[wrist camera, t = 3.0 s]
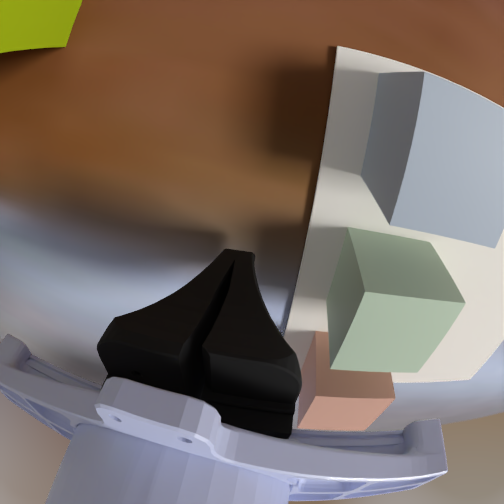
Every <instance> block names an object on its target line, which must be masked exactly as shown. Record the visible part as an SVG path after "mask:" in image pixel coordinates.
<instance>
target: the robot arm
mask: <svg viewBox="0 0 504 504" xmlns="http://www.w3.org/2000/svg"><path fill="white" fill-rule="evenodd" d="M254 261H255V255H254V253H252V252H245V251H238V250H231V249H225V250H224V251H223V252H222V253H221V254H220V255H219V256H218V257H217V258H216V259H215V260H214V261H213V262H212V263H211V264H210V265H209V266H208V267H206V268H205V269H204V270H203V271H202V272H201V273H200V274H199V275H197V276H196V277H195V278H194V279H192V280H191V281H190V282H189V283H187V284H186V285H185V286H183V287H182V288H180V289H179V290H177V291H176V292H174V293H173V294H171V295H169V296H167V297H166V298H164V299H162V300H160V301H158V302H156V303H154V304H152V305H149V306H147V307H145V308H142V309H140V310H137V311H134V312H131V313H128V314H125V315H122V316H118V317H115V318H114V319H113V321H112V322H111V323H110V324H109V326H108V327H107V329H106V331H105V332H104V334H103V336H102V337H101V339H100V341H99V342H98V344H97V351H98V354H99V356H100V358H101V360H102V362H103V364H104V366H105V368H106V370H107V372H108V375H107V377H106V379H105V381H104V383H103V385H102V386H101V385H99V384H96V383H94V382H91V381H89V380H86V379H84V378H81V377H79V376H77V375H74V374H72V373H70V372H68V371H65V370H63V369H61V368H59V367H57V366H54V365H52V364H50V363H48V362H46V361H44V360H42V359H40V358H38V357H36V356H34V355H32V354H31V352H30V350H29V349H28V347H27V346H26V345H25V344H24V343H23V342H22V341H21V340H19V339H17V338H15V337H13V336H12V335H10V334H7V335H6V337H5V338H4V339H3V341H2V342H1V343H0V391H1V392H2V393H3V394H4V395H5V397H6V398H8V400H10V401H11V402H13V403H14V404H15V405H17V406H18V407H20V408H21V409H22V410H24V411H25V412H27V413H28V414H30V415H31V416H33V417H34V418H36V419H37V420H39V421H40V422H42V423H43V424H45V425H46V426H48V427H50V428H51V429H53V430H54V431H56V432H57V433H59V434H61V435H63V436H64V437H66V438H68V439H69V440H71V442H70V444H69V446H68V448H67V451H66V453H65V456H64V458H63V460H62V462H61V465H60V467H59V470H58V472H57V475H56V477H55V480H54V482H53V485H52V487H51V490H50V492H49V495H48V498H47V501H46V503H45V504H288V501H319V500H336V499H348V498H357V497H365V496H373V495H380V494H386V493H392V492H398V491H404V490H410V489H414V488H416V487H419V486H421V485H423V484H425V483H427V482H429V481H431V480H433V479H435V478H437V477H439V476H441V475H443V474H445V473H447V471H448V468H447V460H446V453H445V447H444V440H443V434H442V430H441V424H440V419H438V418H437V419H428V420H419V421H414V422H412V423H410V424H408V425H407V426H406V427H405V428H404V430H396V431H377V432H329V431H309V430H296V429H292V422H293V415H294V412H295V402H296V400H297V398H298V396H299V393H300V391H301V388H302V376H301V370H300V365H299V361H298V358H297V355H296V353H295V352H294V350H293V349H292V348H291V347H290V346H289V344H288V343H287V342H286V341H285V339H284V338H283V336H282V335H281V333H280V332H279V330H278V329H277V327H276V325H275V324H274V322H273V320H272V319H271V317H270V315H269V313H268V311H267V308H266V306H265V304H264V301H263V299H262V296H261V293H260V290H259V287H258V283H257V278H256V274H255V267H254Z"/></svg>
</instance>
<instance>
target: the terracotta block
mask: <svg viewBox="0 0 504 504" xmlns="http://www.w3.org/2000/svg"><path fill="white" fill-rule="evenodd" d="M301 376H302V388H301V391H300V393H299V409H298V424H297V428H302V429H317V430H346V431H364V430H365V429H366V428H367V427H368V426H369V425H371V424H372V423H373V422H374V421H375V420H376V419H377V417H378V416H379V415H380V414H381V413H382V412H383V411H384V410H385V409H386V408H387V407H388V406H389V405H390V404H391V403H392V402H393V401H394V399H395V393H394V387H393V381H392V375H391V372H367V371H350V370H336V369H330V356H329V336H328V332H322V331H315V334H314V337H313V340H312V342H311V345H310V348H309V351H308V353H307V356H306V359H305V361H304V364H303V367H302V369H301Z"/></svg>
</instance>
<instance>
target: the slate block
mask: <svg viewBox="0 0 504 504" xmlns="http://www.w3.org/2000/svg"><path fill="white" fill-rule="evenodd" d="M360 176H361V177H362V179H363V181H364V182H365V184H366V185H367V187H368V189H369V190H370V192H371V194H372V195H373V197H374V199H375V200H376V202H377V204H378V206H379V207H380V209H381V211H382V213H383V214H384V216H385V218H386V220H387V222H388V223H389V225H391V226H396V227H401V228H406V229H411V230H416V231H421V232H425V233H430V234H435V235H439V236H444V237H448V238H453V239H457V240H461V241H466V242H470V243H474V244H478V245H482V246H486V247H490V248H494V249H495V247H496V245H497V243H498V241H499V239H500V236H501V234H502V232H503V229H504V109H503V108H502V107H500V106H498V105H496V104H494V103H493V102H491V101H489V100H487V99H485V98H483V97H481V96H479V95H477V94H475V93H473V92H471V91H469V90H467V89H465V88H463V87H461V86H459V85H456V84H454V83H452V82H450V81H447V80H445V79H442V78H440V77H438V76H435V75H432V74H430V73H427V72H390V73H379V76H378V83H377V90H376V97H375V103H374V109H373V115H372V121H371V126H370V132H369V137H368V142H367V147H366V152H365V157H364V162H363V166H362V171H361V175H360Z"/></svg>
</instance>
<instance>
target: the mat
mask: <svg viewBox="0 0 504 504" xmlns="http://www.w3.org/2000/svg"><path fill="white" fill-rule="evenodd" d="M390 72H427V71H424V70H421V69H419V68H416V67H413V66H410V65H407V64H404V63H401V62H398V61H395V60H392V59H388V58H385V57H381V56H378V55H374V54H370V53H366V52H362V51H358V50H354V49H350V48H345V47H340V46H337V49H336V58H335V67H334V75H333V83H332V90H331V98H330V105H329V112H328V119H327V125H326V132H325V138H324V144H323V151H322V157H321V163H320V168H319V174H318V180H317V185H316V191H315V196H314V201H313V207H312V212H311V217H310V222H309V227H308V232H307V237H306V242H305V247H304V251H303V256H302V261H301V265H300V270H299V274H298V279H297V283H296V288H295V292H294V296H293V301H292V305H291V309H290V313H289V318H288V322H287V326H286V330H285V334H284V339H285V341H286V342H287V343H288V344H289V346H290V347H291V348H292V349H293V350H294V352H295V353H296V355H297V358H298V361H299V365H300V370H301V369H302V367H303V364H304V361H305V359H306V356H307V353H308V351H309V348H310V345H311V342H312V340H313V337H314V334H315V331H322V332H328V320H327V306H326V299H327V296H328V293H329V290H330V286H331V283H332V280H333V277H334V274H335V270H336V267H337V264H338V260H339V257H340V253H341V250H342V246H343V243H344V239H345V235H346V232H347V228H348V227H351V228H357V229H363V230H368V231H374V232H380V233H385V234H390V235H396V236H401V237H406V238H412V239H417V240H422V241H427V242H430V243H431V244H432V246H433V247H434V249H435V251H436V252H437V254H438V255H439V257H440V259H441V260H442V262H443V263H444V265H445V267H446V268H447V270H448V272H449V274H450V275H451V277H452V279H453V280H454V282H455V284H456V286H457V288H458V289H459V291H460V293H461V295H462V297H463V299H464V300H465V302H466V304H465V306H464V307H463V309H462V311H461V312H460V314H459V315H458V317H457V319H456V320H455V322H454V323H453V325H452V326H451V328H450V329H449V331H448V332H447V334H446V335H445V336H444V338H443V339H442V341H441V342H440V344H439V345H438V346H437V348H436V349H435V351H434V352H433V353H432V355H431V356H430V357H429V359H428V360H427V361H426V362H425V364H424V365H423V366H422V368H421V369H420V370H419V371H418V373H399V372H391V375H392V381H393V383H416V382H443V381H459V380H470V379H471V378H472V377H473V376H474V375H475V373H476V372H477V371H478V370H479V369H480V368H481V367H482V366H483V364H484V363H485V362H486V361H487V360H488V359H489V357H490V356H491V355H492V354H493V352H494V351H495V350H496V349H497V347H498V346H499V345H500V344H501V342H502V341H503V340H504V229H503V232H502V234H501V236H500V239H499V241H498V243H497V245H496V247H495V249H494V248H490V247H486V246H482V245H478V244H474V243H470V242H466V241H461V240H457V239H453V238H448V237H444V236H439V235H435V234H430V233H425V232H421V231H416V230H411V229H406V228H401V227H396V226H391V225H389V223H388V222H387V220H386V218H385V216H384V214H383V213H382V211H381V209H380V207H379V206H378V204H377V202H376V200H375V199H374V197H373V195H372V194H371V192H370V190H369V189H368V187H367V185H366V184H365V182H364V181H363V179H362V177H361V176H360V175H361V171H362V166H363V162H364V157H365V152H366V147H367V142H368V137H369V132H370V126H371V121H372V115H373V109H374V103H375V97H376V90H377V83H378V76H379V73H390ZM427 73H429V72H427ZM430 74H432V73H430ZM432 75H435V74H432ZM435 76H437V75H435ZM438 77H440V76H438ZM440 78H442V77H440ZM442 79H444V78H442ZM445 80H447V79H445ZM447 81H449V80H447ZM450 82H451V81H450ZM452 83H454V82H452ZM454 84H456V83H454ZM456 85H458V84H456ZM459 86H460V85H459ZM461 87H462V86H461ZM463 88H465V87H463ZM465 89H467V88H465ZM467 90H469V89H467ZM469 91H471V90H469ZM471 92H473V91H471ZM473 93H475V92H473ZM475 94H477V93H475ZM477 95H479V94H477ZM479 96H481V95H479ZM481 97H483V96H481ZM483 98H485V97H483ZM485 99H487V98H485ZM487 100H488V99H487ZM489 101H490V100H489ZM491 102H492V101H491ZM493 103H494V102H493ZM494 104H496V103H494ZM496 105H498V104H496ZM498 106H499V105H498ZM500 107H501V106H500ZM502 108H503V107H502ZM503 109H504V108H503Z"/></svg>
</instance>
